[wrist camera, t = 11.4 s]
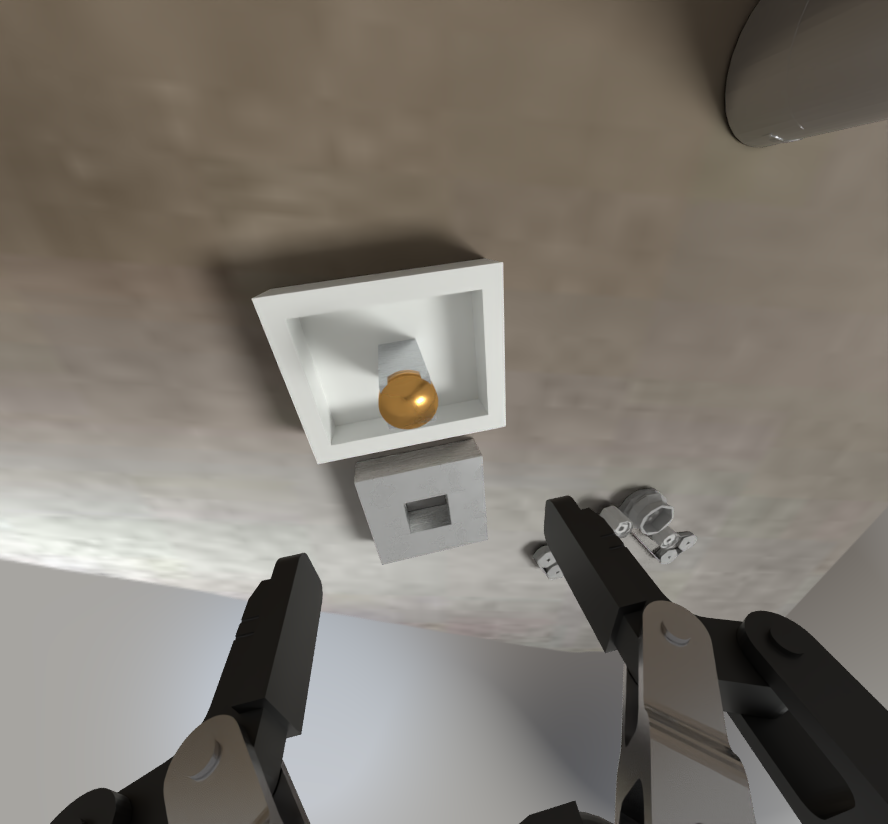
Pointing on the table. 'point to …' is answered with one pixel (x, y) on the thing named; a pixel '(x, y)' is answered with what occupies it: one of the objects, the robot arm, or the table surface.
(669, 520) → the pulley system
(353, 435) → the parts tray
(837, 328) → the table surface
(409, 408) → the lock pin
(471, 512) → the block
